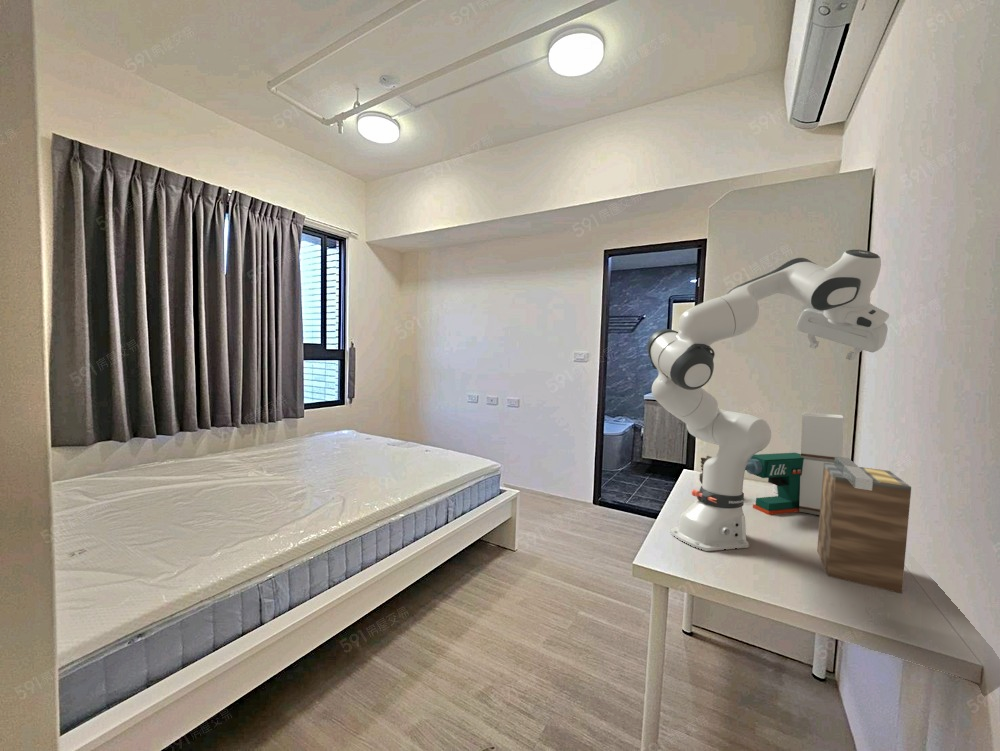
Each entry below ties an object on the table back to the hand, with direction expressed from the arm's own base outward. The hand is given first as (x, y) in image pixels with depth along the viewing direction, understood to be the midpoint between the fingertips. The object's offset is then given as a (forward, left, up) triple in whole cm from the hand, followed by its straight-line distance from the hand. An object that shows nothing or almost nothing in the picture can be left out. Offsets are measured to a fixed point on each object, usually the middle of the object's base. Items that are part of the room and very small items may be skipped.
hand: (831, 352), depth 118 cm
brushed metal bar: (-12, -13, -31) cm, 36 cm away
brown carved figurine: (+9, +46, -58) cm, 74 cm away
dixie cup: (+39, +35, -58) cm, 78 cm away
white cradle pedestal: (+30, +16, -57) cm, 67 cm away
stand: (-5, -12, -57) cm, 59 cm away
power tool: (+13, +24, -58) cm, 64 cm away
